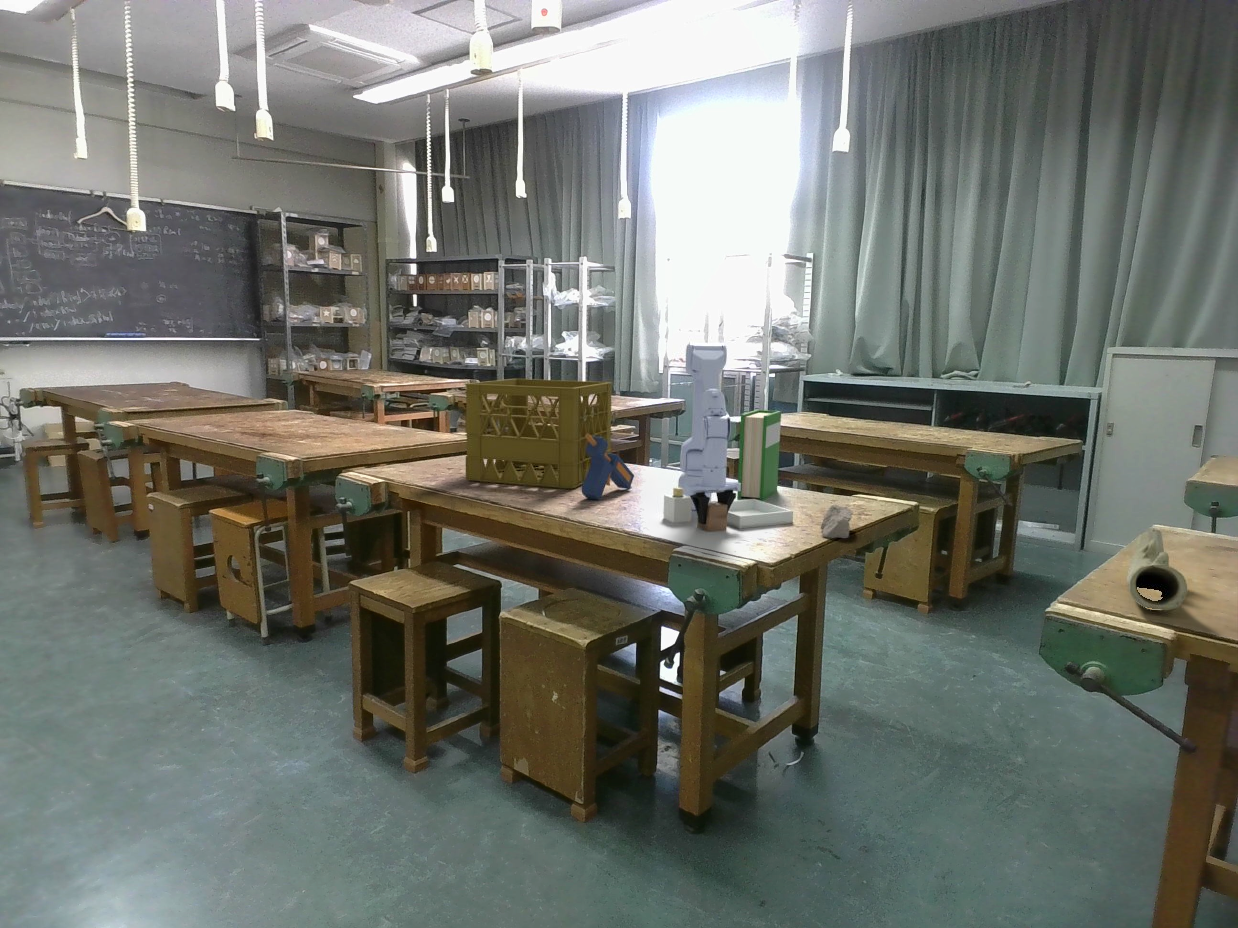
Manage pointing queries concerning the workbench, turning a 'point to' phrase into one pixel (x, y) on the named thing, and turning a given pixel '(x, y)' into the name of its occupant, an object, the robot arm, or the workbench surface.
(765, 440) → the hardback book
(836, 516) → the concrete fragment
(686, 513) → the pale grey block
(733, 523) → the tray
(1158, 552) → the pipe
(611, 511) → the workbench surface
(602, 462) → the glue gun
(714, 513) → the walnut block
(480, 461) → the milk crate
